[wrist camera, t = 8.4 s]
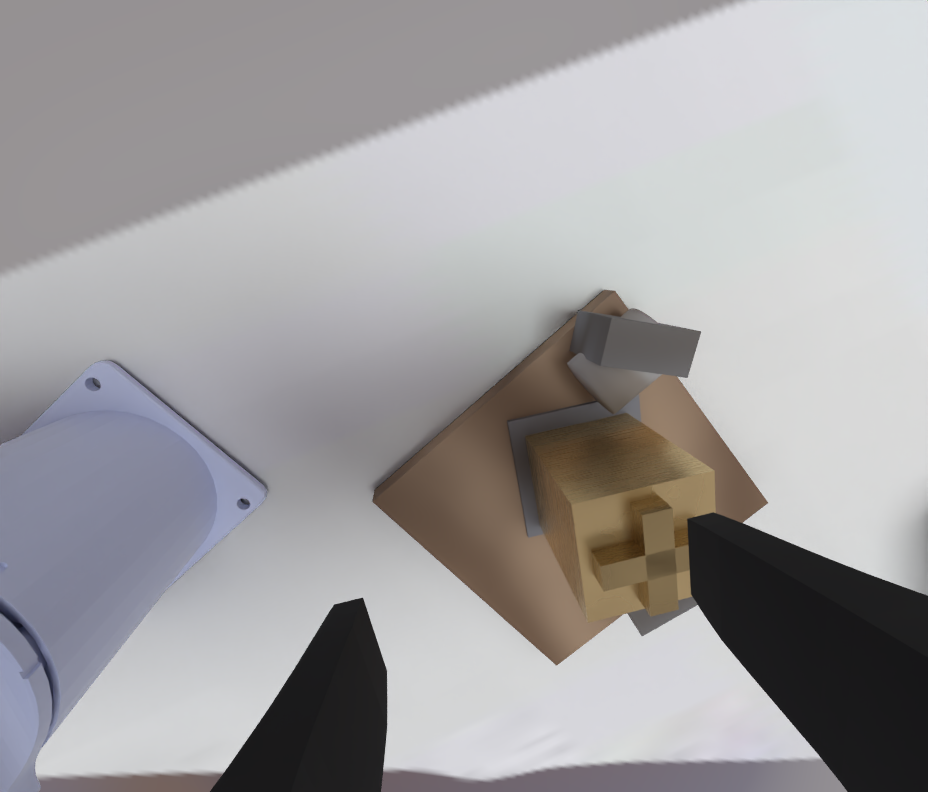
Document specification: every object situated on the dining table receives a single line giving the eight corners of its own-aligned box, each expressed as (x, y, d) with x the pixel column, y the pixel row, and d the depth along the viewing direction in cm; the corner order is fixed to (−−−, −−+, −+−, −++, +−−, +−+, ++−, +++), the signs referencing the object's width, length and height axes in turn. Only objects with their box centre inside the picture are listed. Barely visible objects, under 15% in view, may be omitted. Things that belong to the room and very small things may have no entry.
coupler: (634, 503, 19) (732, 606, 13) (540, 526, 19) (596, 641, 13) (626, 412, 18) (731, 481, 12) (524, 435, 18) (580, 517, 12)
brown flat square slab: (550, 648, 23) (578, 725, 19) (368, 484, 19) (356, 538, 15) (760, 486, 21) (836, 533, 17) (608, 274, 17) (662, 274, 14)
